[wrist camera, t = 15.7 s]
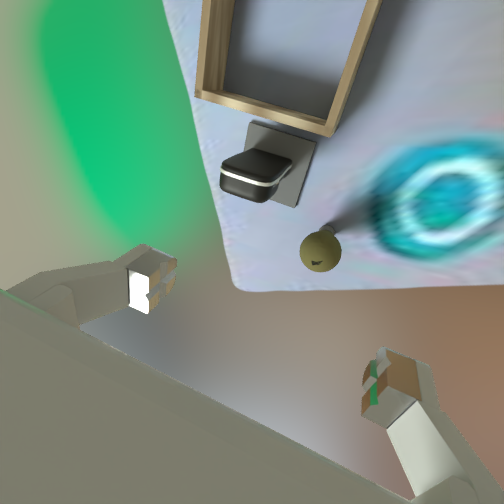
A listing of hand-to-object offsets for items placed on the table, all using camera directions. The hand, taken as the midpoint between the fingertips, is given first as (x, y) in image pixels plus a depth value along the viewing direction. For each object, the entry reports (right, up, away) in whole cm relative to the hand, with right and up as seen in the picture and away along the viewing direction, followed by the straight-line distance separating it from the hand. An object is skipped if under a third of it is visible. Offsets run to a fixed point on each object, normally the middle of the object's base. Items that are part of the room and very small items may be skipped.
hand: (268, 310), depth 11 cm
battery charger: (+2, +15, +32) cm, 35 cm away
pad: (+3, +15, +32) cm, 36 cm away
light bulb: (+11, +6, +34) cm, 36 cm away
